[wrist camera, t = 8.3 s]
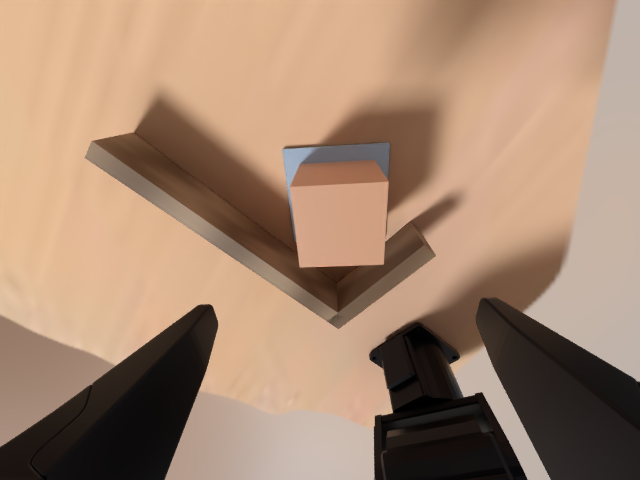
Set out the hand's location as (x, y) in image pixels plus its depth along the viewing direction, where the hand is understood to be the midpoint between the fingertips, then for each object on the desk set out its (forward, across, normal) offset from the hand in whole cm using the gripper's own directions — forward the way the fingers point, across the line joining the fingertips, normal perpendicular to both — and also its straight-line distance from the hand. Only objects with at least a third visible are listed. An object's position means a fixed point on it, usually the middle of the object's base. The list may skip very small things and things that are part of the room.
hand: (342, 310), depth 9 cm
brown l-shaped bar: (+12, +4, 0) cm, 12 cm away
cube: (+11, 0, 0) cm, 11 cm away
